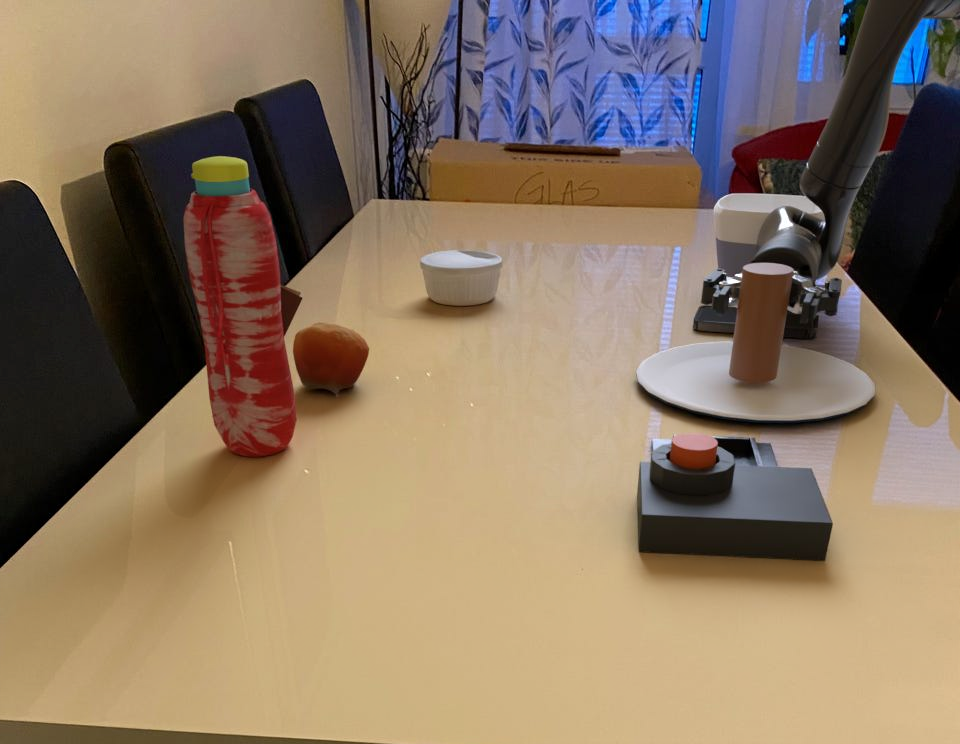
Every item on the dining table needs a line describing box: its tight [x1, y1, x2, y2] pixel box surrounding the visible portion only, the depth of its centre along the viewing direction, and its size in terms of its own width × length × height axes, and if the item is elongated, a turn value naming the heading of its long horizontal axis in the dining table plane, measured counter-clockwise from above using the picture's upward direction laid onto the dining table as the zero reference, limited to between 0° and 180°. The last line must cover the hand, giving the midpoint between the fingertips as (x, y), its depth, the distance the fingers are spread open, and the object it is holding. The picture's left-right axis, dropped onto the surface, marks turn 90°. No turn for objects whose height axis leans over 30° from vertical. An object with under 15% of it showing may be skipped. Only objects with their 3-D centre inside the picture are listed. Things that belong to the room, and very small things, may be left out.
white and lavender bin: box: [712, 193, 825, 294], centre depth 138 cm, size 15×15×11 cm
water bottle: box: [183, 155, 303, 458], centre depth 88 cm, size 12×8×25 cm, turn 161°
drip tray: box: [650, 434, 779, 467], centre depth 88 cm, size 11×11×2 cm
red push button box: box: [636, 443, 834, 562], centre depth 78 cm, size 10×14×5 cm
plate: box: [635, 340, 876, 424], centre depth 106 cm, size 25×25×1 cm
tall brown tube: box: [729, 263, 794, 383], centre depth 103 cm, size 5×5×11 cm
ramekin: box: [419, 249, 504, 307], centre depth 136 cm, size 11×11×5 cm
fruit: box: [292, 322, 370, 399], centre depth 106 cm, size 8×8×8 cm
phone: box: [692, 304, 820, 340], centre depth 125 cm, size 8×1×15 cm
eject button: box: [670, 432, 718, 469], centre depth 78 cm, size 4×4×2 cm
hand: (762, 309), depth 101 cm, fingers open, 8 cm apart
